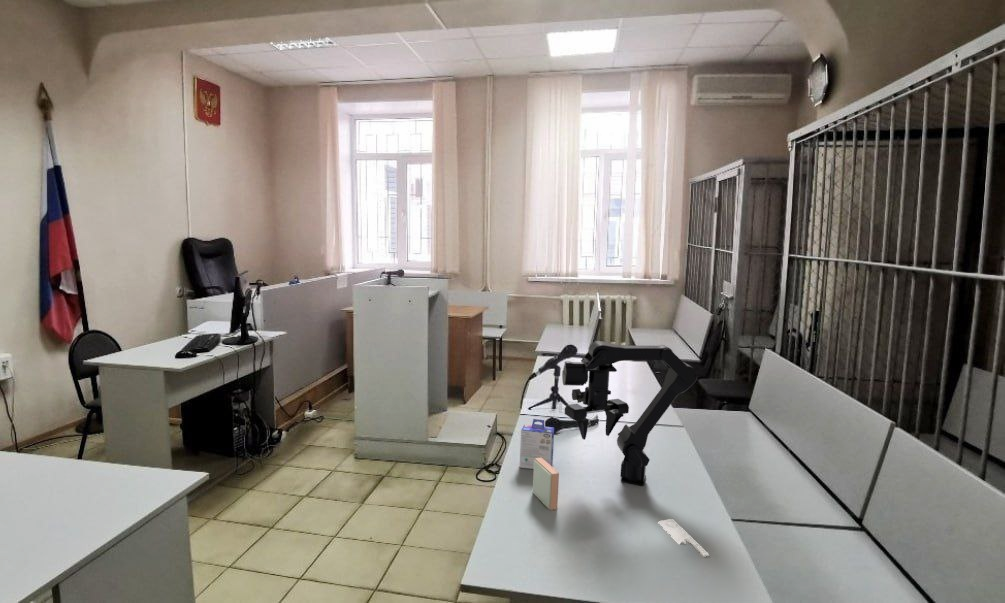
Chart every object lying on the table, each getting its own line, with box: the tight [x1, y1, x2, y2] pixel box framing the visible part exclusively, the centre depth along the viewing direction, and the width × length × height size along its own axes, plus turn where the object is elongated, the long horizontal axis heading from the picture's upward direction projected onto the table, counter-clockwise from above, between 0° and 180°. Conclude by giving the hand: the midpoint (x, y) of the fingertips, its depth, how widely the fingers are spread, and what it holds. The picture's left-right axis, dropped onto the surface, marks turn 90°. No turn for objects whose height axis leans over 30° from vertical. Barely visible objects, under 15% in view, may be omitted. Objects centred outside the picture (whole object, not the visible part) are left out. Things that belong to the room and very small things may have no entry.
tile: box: [532, 458, 560, 511], centre depth 142 cm, size 2×10×10 cm, turn 23°
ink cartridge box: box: [518, 418, 555, 470], centre depth 162 cm, size 10×6×14 cm, turn 78°
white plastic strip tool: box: [657, 518, 710, 558], centre depth 127 cm, size 5×15×1 cm, turn 14°
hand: (595, 437), depth 154 cm, fingers open, 8 cm apart
